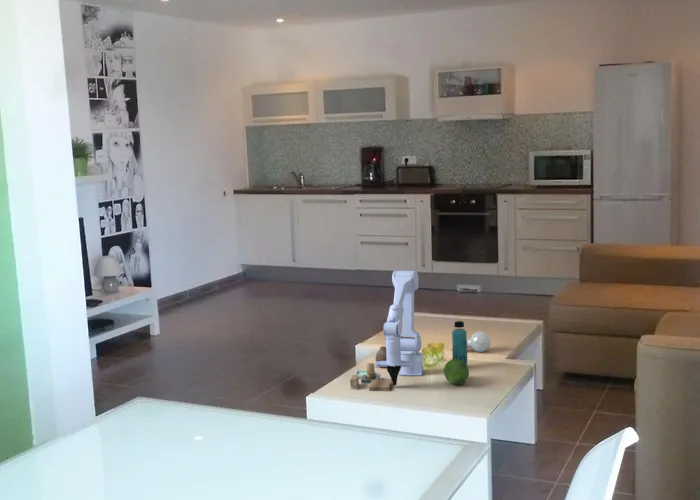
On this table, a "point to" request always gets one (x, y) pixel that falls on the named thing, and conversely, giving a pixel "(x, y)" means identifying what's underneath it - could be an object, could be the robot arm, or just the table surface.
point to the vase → (381, 355)
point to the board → (380, 385)
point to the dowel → (370, 371)
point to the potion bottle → (479, 341)
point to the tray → (361, 373)
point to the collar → (365, 380)
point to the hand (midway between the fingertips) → (394, 384)
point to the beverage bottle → (459, 342)
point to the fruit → (456, 371)
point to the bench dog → (354, 382)
